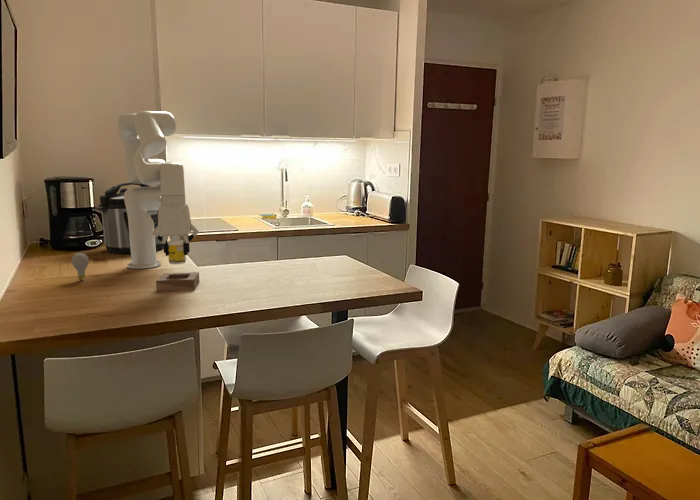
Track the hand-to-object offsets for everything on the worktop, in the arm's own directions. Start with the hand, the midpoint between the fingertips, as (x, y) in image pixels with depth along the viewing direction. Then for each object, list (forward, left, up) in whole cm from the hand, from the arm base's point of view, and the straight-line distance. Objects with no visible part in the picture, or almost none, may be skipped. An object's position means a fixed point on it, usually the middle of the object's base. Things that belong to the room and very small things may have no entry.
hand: (176, 254), depth 185 cm
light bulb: (-15, -36, -11) cm, 41 cm away
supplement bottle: (0, 0, -3) cm, 3 cm away
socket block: (0, 0, -11) cm, 11 cm away
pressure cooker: (-81, -33, -11) cm, 88 cm away
